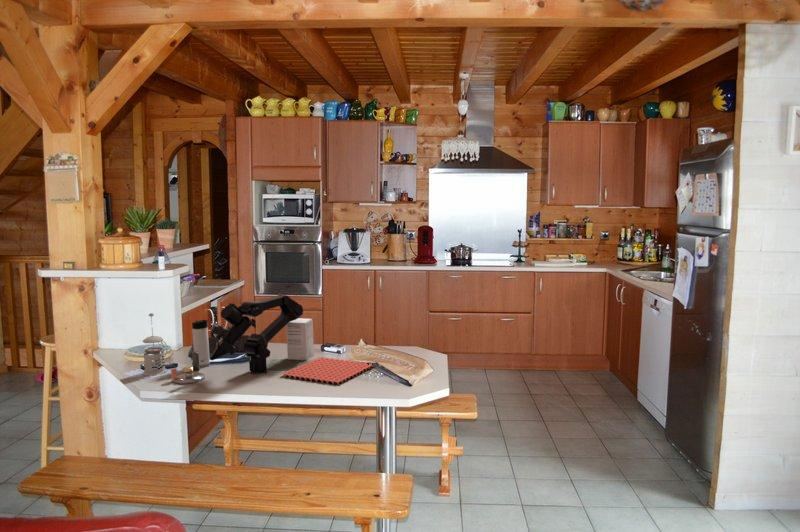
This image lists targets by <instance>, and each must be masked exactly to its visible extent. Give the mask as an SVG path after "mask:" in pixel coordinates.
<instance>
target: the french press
mask: <svg viewBox="0 0 800 532" xmlns="http://www.w3.org/2000/svg"><path fill="white" fill-rule="evenodd" d="M154 316H155V315H154V313H152V312H151V313H149V314H148V317H150V321H151V323H150V324H153V317H154ZM151 334H152V335H150V336H148V337H145V338H144V339H143V340H142V343H143V344H152V347H148V348H145V349H144V353H143V362H144V365H143V366H144V371H143V372H142V375H143V376H147V377H148V376H150V377H152V376H158V375H157V374H160V375H163V374H165V373H164V372H165V371H166V370H167V369H166V366H165V365H166V364H165V363H166V362H165V357H166V356H167V354H168V353H167V352H168V346H167V342H165V341H164V338H163V337H161V336H158V335H154V333H153V328H151ZM157 343H158V345H162V346H163V347H161V346H159V347H158V346H157V347H156V346H155V347H154V344H157ZM164 344H165V345H164ZM165 347H166V351H165ZM158 365H160V366H159V367H157V368H152V367H156V366H158ZM162 365H163V367H162ZM160 367H162V368H160ZM158 368H160V369H158ZM165 369H166V370H165ZM162 373H163V374H162Z"/></svg>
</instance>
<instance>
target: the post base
mask: <svg viewBox="0 0 800 532" xmlns="http://www.w3.org/2000/svg"><path fill="white" fill-rule="evenodd" d="M177 369H178V368H177V367H173V368H170V374H171V375H170V376H171V381H173V383H174V384H178V385H188V384H195V383H199V381H200V382H203V381H204V380H205V379H206V375H205V374H204V373H202V372H199V373H197V374H194V373H182V374H179V375H178V372H177V371H178V370H177Z"/></svg>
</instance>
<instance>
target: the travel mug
mask: <svg viewBox="0 0 800 532" xmlns="http://www.w3.org/2000/svg"><path fill="white" fill-rule="evenodd" d="M208 322H209V321H208V319H201V320H195V321H194V322H192V323H191V325H192V327H191V328H192V331H191V332H192V342H193V343H192V345H193V352H194V351H198V353H199V368H206V367H209V366H210V365H211V364H210V363H211V362H210V361H211V360H210V344H209V343H210V342H209V328H208Z"/></svg>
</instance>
